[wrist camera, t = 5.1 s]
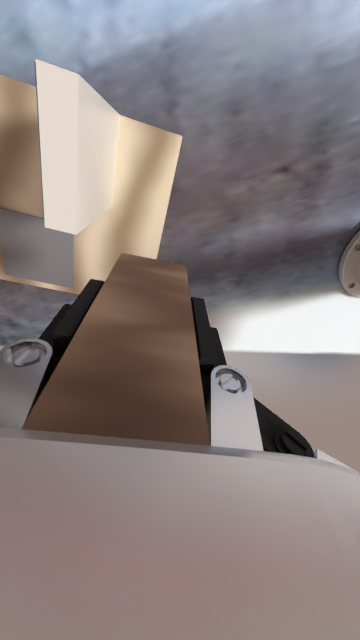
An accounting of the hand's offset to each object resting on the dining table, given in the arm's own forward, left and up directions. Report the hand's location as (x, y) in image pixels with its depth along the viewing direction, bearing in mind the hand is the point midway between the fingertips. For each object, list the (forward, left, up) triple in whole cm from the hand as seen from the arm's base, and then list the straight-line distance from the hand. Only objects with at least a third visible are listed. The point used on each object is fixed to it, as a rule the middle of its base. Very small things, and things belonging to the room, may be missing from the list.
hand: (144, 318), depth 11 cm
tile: (+6, -4, -20) cm, 21 cm away
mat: (+13, +7, -20) cm, 25 cm away
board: (+9, +2, -21) cm, 23 cm away
